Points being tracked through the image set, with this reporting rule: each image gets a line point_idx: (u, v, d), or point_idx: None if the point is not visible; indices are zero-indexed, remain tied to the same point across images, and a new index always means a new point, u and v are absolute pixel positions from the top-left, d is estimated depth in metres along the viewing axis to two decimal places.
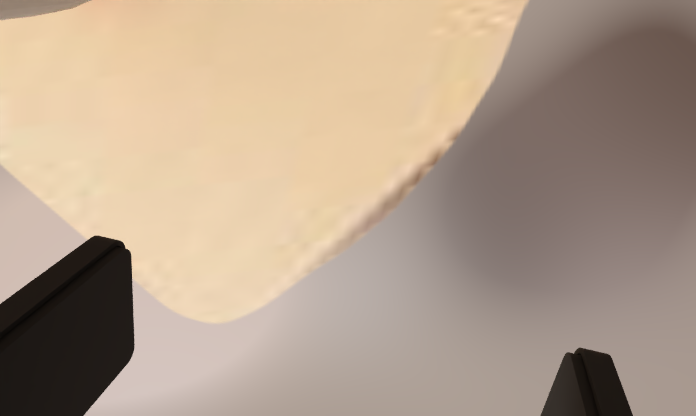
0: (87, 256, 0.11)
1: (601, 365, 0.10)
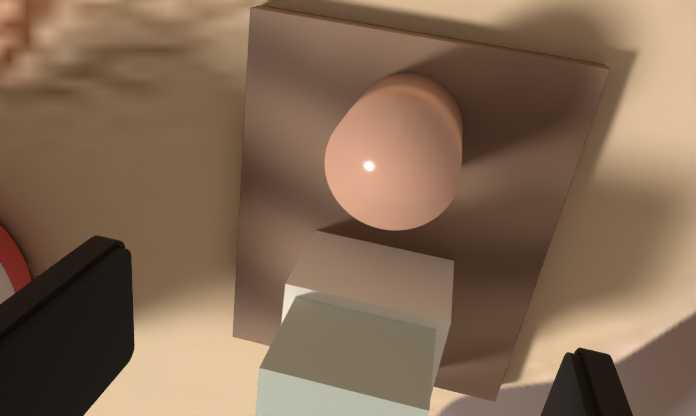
0: (87, 256, 0.11)
1: (600, 364, 0.10)
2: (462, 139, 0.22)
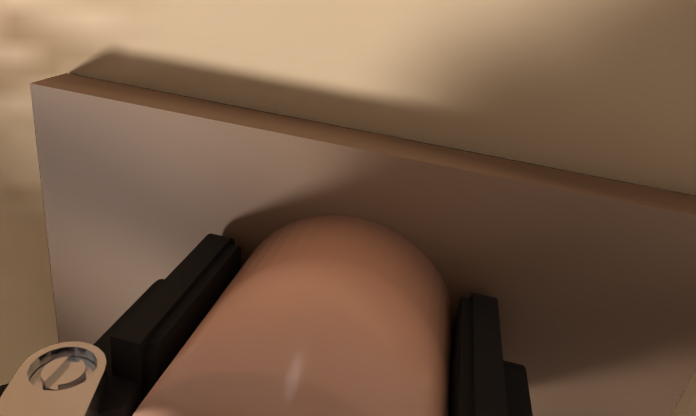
0: (209, 252, 0.11)
1: (485, 304, 0.11)
2: (450, 374, 0.10)
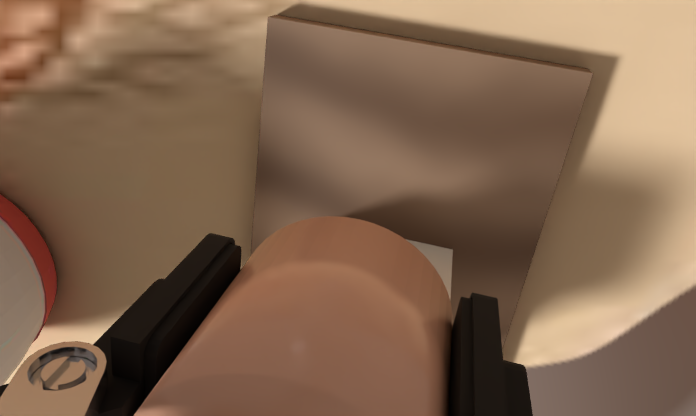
0: (209, 252, 0.11)
1: (485, 305, 0.11)
2: None
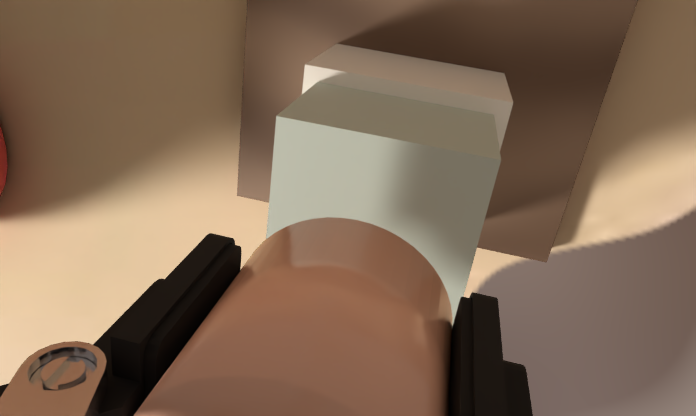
0: (209, 252, 0.11)
1: (486, 305, 0.11)
2: None
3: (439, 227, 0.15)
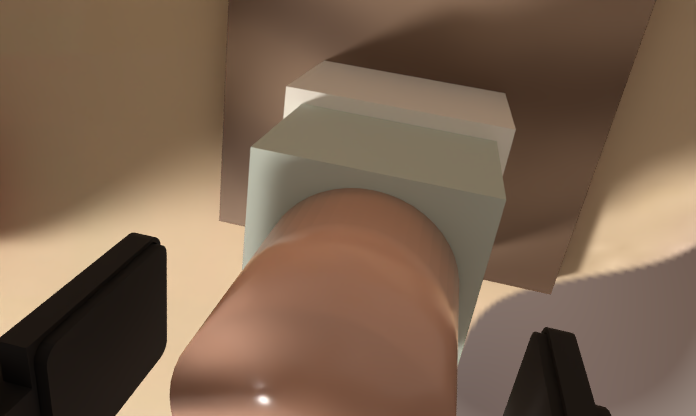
0: (127, 252, 0.11)
1: (564, 342, 0.10)
2: None
3: None
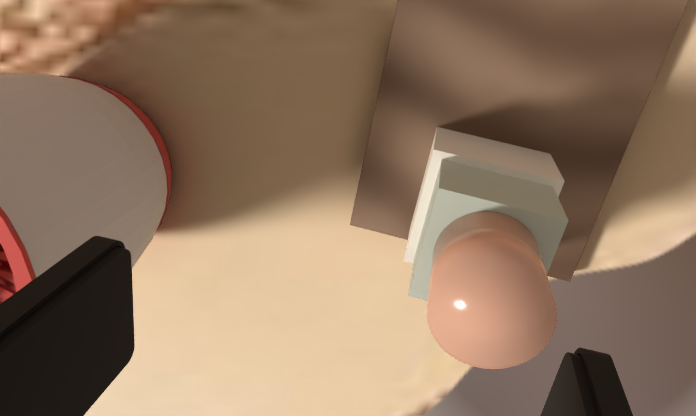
0: (87, 256, 0.11)
1: (600, 364, 0.10)
2: None
3: None
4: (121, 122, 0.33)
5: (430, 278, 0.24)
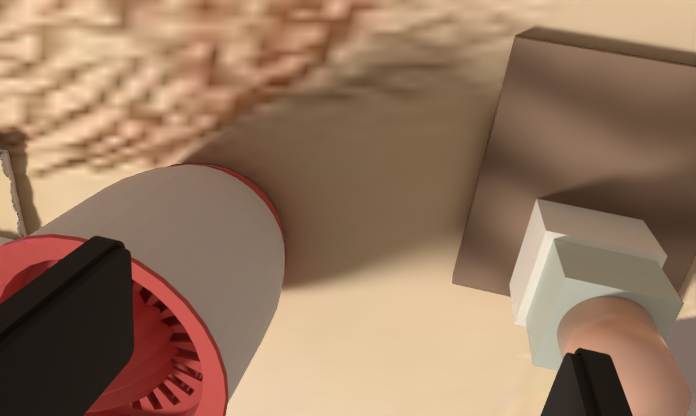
0: (87, 256, 0.11)
1: (600, 364, 0.10)
2: None
3: None
4: (254, 208, 0.37)
5: None
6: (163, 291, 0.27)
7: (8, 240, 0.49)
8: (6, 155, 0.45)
